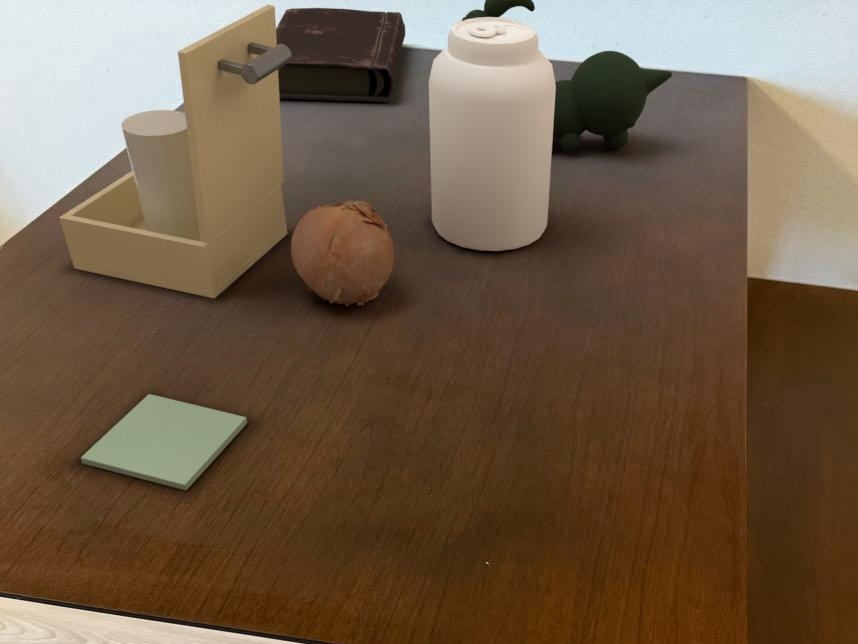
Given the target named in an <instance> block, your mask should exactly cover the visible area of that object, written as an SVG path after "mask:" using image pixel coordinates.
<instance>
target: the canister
mask: <svg viewBox="0 0 858 644" xmlns="http://www.w3.org/2000/svg"><path fill="white" fill-rule="evenodd" d="M120 126H121V129H122V135H123V138H124V142H125V146H126V150H127V151H126V152H127V155H128V160H129V163H130V167H131V168H130V169H131V171H132V172H133V176H134V181H135V185H136V189H137V193H138V197H139V202H140V206H141V210H142V214H143V218H144V222H145V227H146V231H150V232H155V233H160V234H165V235H170V236H175V237H180V238H185V239H190V240H195V241H200V234H199V225H198V217H197V209H196V200H195V192H194V184H193V175H192V167H191V158H190V150H189V142H188V133H187V125H186V117H185V112H182V111H178V110H170V109H154V110H147V111H143V112H138V113H135V114H132V115H129V116H128V117H126V118H125V119H124V120H123V121H122V122H121V125H120ZM200 242H201V241H200Z"/></svg>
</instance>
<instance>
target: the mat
mask: <svg viewBox="0 0 858 644" xmlns="http://www.w3.org/2000/svg"><path fill="white" fill-rule="evenodd" d="M247 424H248V419H247V417H246V416H244V415H243V416H242V415H239V414H234V413H230V412H226V411H223V410H218V409H214V408H209V407H205V406H201V405H197V404H193V403H189V402H184V401H180V400H176V399H172V398H169V397H164V396H159V395H155V394H151V393H149V394H147V395H146V396H145V397H144V398H143V399H142V400H140V401H139V402H138V404H137V405H135V406H134V407H133V408H132V409H131V410H130V411H129V412H128V413H126V414H125V415H124V417H123V418H122V419H120V420H119V421H118V422H117V423H116V424H114V426H112V427H111V429H109V430H108V431H107V432H106V433H105V434H104V435H103V436H102V437H101V438H100V439H99V440H98V441H97V442H95V444H93V445H92V446H91V447H90V448H89V449H88V450H87V451H86V452H85V453H84V454H83V455H82V456H81V457H80V460H81V463H82V464H83V465H86V466H91V467H95V468H99V469H103V470H106V471H109V472H113V473H118V474H121V475H125V476H129V477H132V478H137V479H141V480H144V481H148V482H151V483H156V484H159V485H162V486H163V485H164V486H167V487H171V488H174V489H179V490H181V491H187V490H188V489H189V488H190V487H191V486H192V485H193V484H194V483H195V482H196V481H197V479H199V477H200V476H202V474H203V473H204V472H205V470H207V469H208V467H209V466H210V465H211V464H212V463H213V462H214V461H215V460H216V458H217V457H218V456H219V455H220V454H221V453H222V452H223V451H224V449H225V448H226V447H227V446H228V445H230V443H231V442H232V441H233V440H234V438H236V437H237V435H239V433H240V432H241V431H242V430H243V429H244V427H245V426H247Z"/></svg>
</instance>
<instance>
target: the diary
mask: <svg viewBox="0 0 858 644" xmlns="http://www.w3.org/2000/svg"><path fill="white" fill-rule="evenodd" d="M405 37H406V25H405V22H404V20H403V15H402V14H401V12H399V11H387V12H386V11H370V10H360V9H352V8H351V9H350V8H336V7H335V8H333V7H301V8H300V7H299V8H288V9H285V10H284V13H283V15H282V16H281V18H280V21H279V22H278V24H277V25H276V40H277V45H278V44H284V45H286V46H287V47H288V48H289V49H290V51H291V61H290V62H289V63H287V64H286V65H284V66H283V67H281V68H279V69H278V79H279V99H280V100H281V99H282V100H283V99H284V100H315V101H345V102H346V101H347V102H375V103H377V102H378V103H379V102H381V103H389V102H390V101H391V99H392V96H393V94H394V91H395V86H396V80H397V75H398V69H399V66H400V62H401V57H402V51H403V50H402V49H403V44H404V41H405Z"/></svg>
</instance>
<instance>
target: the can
mask: <svg viewBox="0 0 858 644" xmlns="http://www.w3.org/2000/svg"><path fill="white" fill-rule="evenodd" d="M553 68H554V67H553V63H552V62H550V60H549V59H548V58H547V57H546V56H545V54H544V53H542V51H541V50H540V49H539V37H538V34H537V30H536V29H535V28H534V27H533V26H532V25H530V24H527V23H525V22H522V21H520V20H517V19H512V18H506V17H501V16H500V17H480V18H472V19H467V20H464V21H462V20H461V21H458V22H456V23H454V24H453V25H452V26H451V28H450V29H449V33H448V35H447V46H446V47H444V48H443V50H441V52H439V53H438V55H437V56H436V57H435V58H434V59H433V60H432V65H431V70H430V73H429V78H428V109H429V110H428V111H429V112H428V114H429V152H430V155H429V156H430V157H429V158H430V160H429V161H430V195H431V201H430V202H431V223H432V225H433V227H434V229H435V231H436V232H437V234H438V235H439V236H440V237H442V238H443V239H444V240H446V241H447V242H448V243H450V244H454V245H456V246H459V247H461V248H464V249H465V248H466V249H471V250H476V251H487V252H488V251H491V252H500V251H509V250H516V249H519V248H523V247H526V246H528V245H529V246H530V245H531V244H533V243H534V242H535V241H537V240H539V239H540V238H541V236H542V235H543V234H544V232H545V230H546V228H547V226H548V217H549V204H550V203H549V201H550V200H549V199H550V187H551V186H550V185H551V169H552V156H553V155H552V154H553V153H552V152H553V139H554V138H553V123H554V107H555V91H556V85H555V82H556V79H555V78H556V77H555V73H554V69H553Z"/></svg>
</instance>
